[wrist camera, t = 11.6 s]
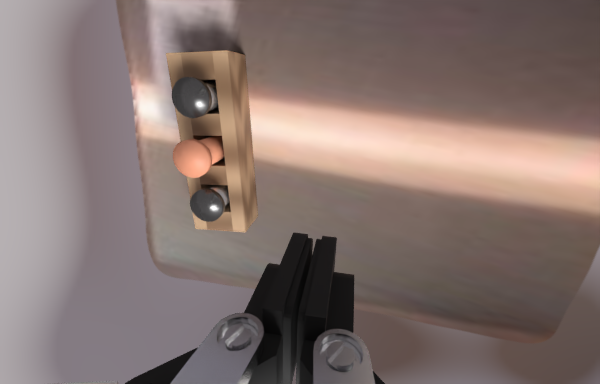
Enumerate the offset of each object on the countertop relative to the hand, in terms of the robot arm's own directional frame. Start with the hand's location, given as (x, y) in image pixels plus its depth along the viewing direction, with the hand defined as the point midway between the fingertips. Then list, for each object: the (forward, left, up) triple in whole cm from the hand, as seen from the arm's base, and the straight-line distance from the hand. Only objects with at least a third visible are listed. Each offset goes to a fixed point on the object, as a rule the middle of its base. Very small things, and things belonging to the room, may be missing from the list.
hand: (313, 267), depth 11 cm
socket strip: (0, -15, -26) cm, 30 cm away
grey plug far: (+6, -15, -26) cm, 30 cm away
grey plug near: (-6, -15, -25) cm, 30 cm away
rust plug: (0, -15, -24) cm, 28 cm away
